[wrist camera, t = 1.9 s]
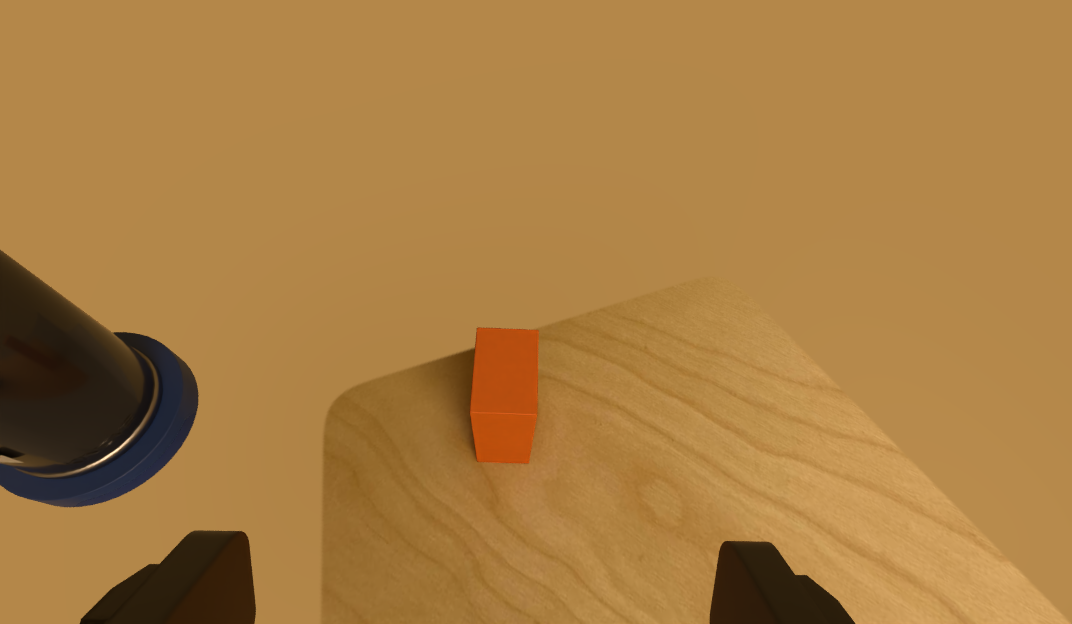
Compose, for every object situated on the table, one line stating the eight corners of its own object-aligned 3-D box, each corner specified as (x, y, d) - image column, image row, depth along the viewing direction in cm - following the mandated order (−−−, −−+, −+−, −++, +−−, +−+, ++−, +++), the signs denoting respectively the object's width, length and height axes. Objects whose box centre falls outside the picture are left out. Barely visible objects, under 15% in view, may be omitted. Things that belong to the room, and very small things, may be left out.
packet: (477, 462, 36) (469, 412, 28) (482, 391, 39) (476, 326, 30) (528, 463, 36) (537, 415, 28) (530, 393, 39) (538, 329, 30)
